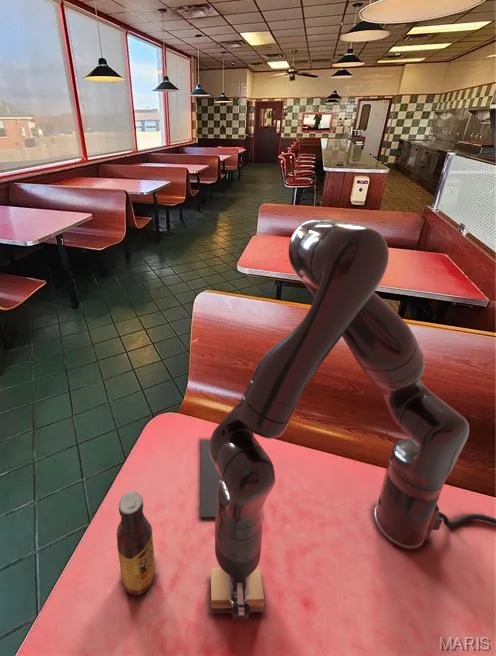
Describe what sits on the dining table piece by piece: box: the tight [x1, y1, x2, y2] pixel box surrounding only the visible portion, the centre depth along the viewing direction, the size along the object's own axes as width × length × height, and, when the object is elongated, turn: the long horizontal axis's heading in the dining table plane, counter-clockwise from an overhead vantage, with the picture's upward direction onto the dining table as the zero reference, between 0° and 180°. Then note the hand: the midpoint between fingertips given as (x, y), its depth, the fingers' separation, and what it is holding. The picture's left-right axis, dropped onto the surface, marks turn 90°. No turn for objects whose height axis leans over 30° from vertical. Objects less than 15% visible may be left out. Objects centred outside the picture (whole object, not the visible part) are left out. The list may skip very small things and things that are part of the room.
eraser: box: [210, 567, 265, 614], centre depth 59 cm, size 9×4×4 cm, turn 91°
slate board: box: [200, 439, 222, 519], centre depth 81 cm, size 13×20×1 cm, turn 1°
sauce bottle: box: [116, 490, 156, 596], centre depth 59 cm, size 6×6×20 cm
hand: (236, 593), depth 59 cm, fingers closed on eraser, 4 cm apart
